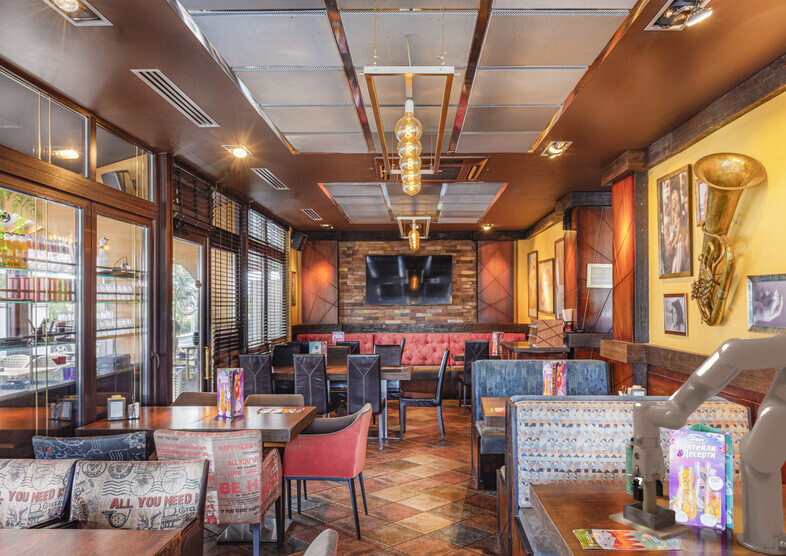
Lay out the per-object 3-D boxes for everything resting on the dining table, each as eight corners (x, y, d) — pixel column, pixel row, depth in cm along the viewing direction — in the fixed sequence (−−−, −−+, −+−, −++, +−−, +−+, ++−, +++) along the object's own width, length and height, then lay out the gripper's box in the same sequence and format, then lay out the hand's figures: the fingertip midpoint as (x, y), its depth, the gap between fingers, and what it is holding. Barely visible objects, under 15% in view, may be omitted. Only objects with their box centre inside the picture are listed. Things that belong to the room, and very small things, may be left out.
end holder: (691, 530, 161) (690, 513, 161) (661, 539, 154) (660, 522, 154) (638, 510, 176) (638, 495, 177) (609, 518, 170) (609, 502, 170)
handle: (649, 525, 162) (649, 475, 162) (636, 517, 168) (636, 468, 169) (663, 524, 163) (663, 474, 163) (649, 516, 169) (650, 468, 169)
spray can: (646, 495, 191) (644, 438, 192) (630, 495, 191) (629, 438, 192) (639, 490, 196) (637, 435, 198) (624, 490, 196) (623, 435, 198)
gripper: (639, 447, 159) (640, 507, 158) (675, 441, 168) (677, 497, 167) (617, 442, 166) (619, 499, 165) (654, 436, 174) (655, 490, 173)
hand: (648, 498), depth 166 cm, fingers open, 8 cm apart
